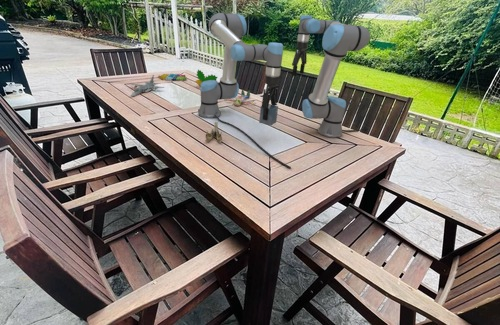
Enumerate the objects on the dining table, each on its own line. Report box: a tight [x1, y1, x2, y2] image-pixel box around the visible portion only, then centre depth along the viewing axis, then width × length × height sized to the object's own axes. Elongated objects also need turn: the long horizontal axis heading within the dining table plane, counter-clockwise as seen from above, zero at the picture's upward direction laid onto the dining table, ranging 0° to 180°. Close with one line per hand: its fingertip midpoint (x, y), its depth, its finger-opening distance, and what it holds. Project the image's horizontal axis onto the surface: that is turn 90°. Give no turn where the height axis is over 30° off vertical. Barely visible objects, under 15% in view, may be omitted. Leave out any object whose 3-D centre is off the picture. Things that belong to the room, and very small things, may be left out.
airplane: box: [130, 74, 165, 97], centre depth 228 cm, size 38×32×10 cm
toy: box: [223, 89, 257, 106], centre depth 219 cm, size 28×7×30 cm
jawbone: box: [205, 121, 223, 144], centre depth 149 cm, size 9×15×10 cm
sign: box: [158, 73, 187, 82], centre depth 282 cm, size 26×2×30 cm
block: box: [258, 103, 279, 127], centre depth 145 cm, size 7×7×10 cm
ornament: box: [194, 69, 218, 88], centre depth 252 cm, size 21×8×15 cm, turn 105°
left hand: (268, 117), depth 146 cm, fingers closed on block, 7 cm apart
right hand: (297, 74), depth 184 cm, fingers open, 13 cm apart
